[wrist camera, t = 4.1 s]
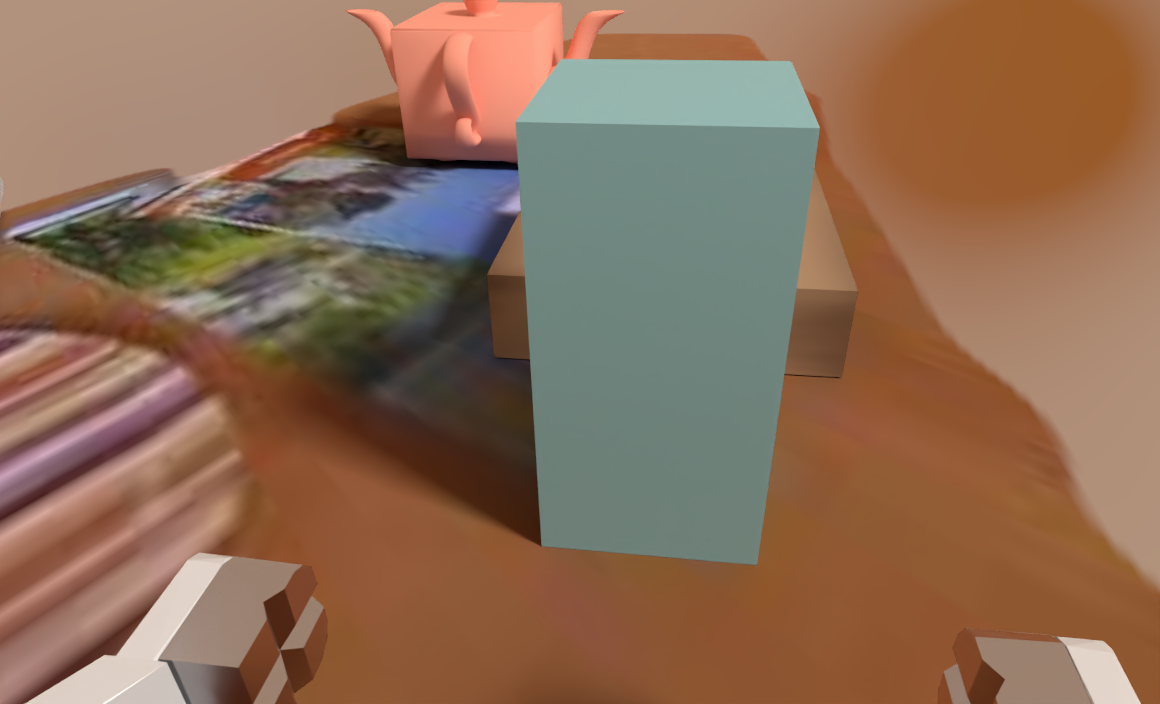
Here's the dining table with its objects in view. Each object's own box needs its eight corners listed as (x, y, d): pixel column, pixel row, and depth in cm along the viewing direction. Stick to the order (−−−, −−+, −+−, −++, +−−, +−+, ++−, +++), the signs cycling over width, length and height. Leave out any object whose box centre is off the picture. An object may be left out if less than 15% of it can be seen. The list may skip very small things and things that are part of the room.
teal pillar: (541, 545, 19) (515, 121, 13) (571, 419, 23) (561, 59, 17) (757, 564, 18) (819, 127, 13) (746, 431, 22) (790, 61, 17)
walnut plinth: (494, 357, 26) (487, 274, 24) (550, 225, 35) (547, 159, 33) (841, 377, 24) (858, 291, 23) (803, 234, 33) (813, 166, 32)
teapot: (402, 116, 51) (382, -26, 46) (632, 121, 49) (635, -27, 44) (325, 178, 41) (291, 5, 36) (610, 188, 39) (611, 6, 34)
